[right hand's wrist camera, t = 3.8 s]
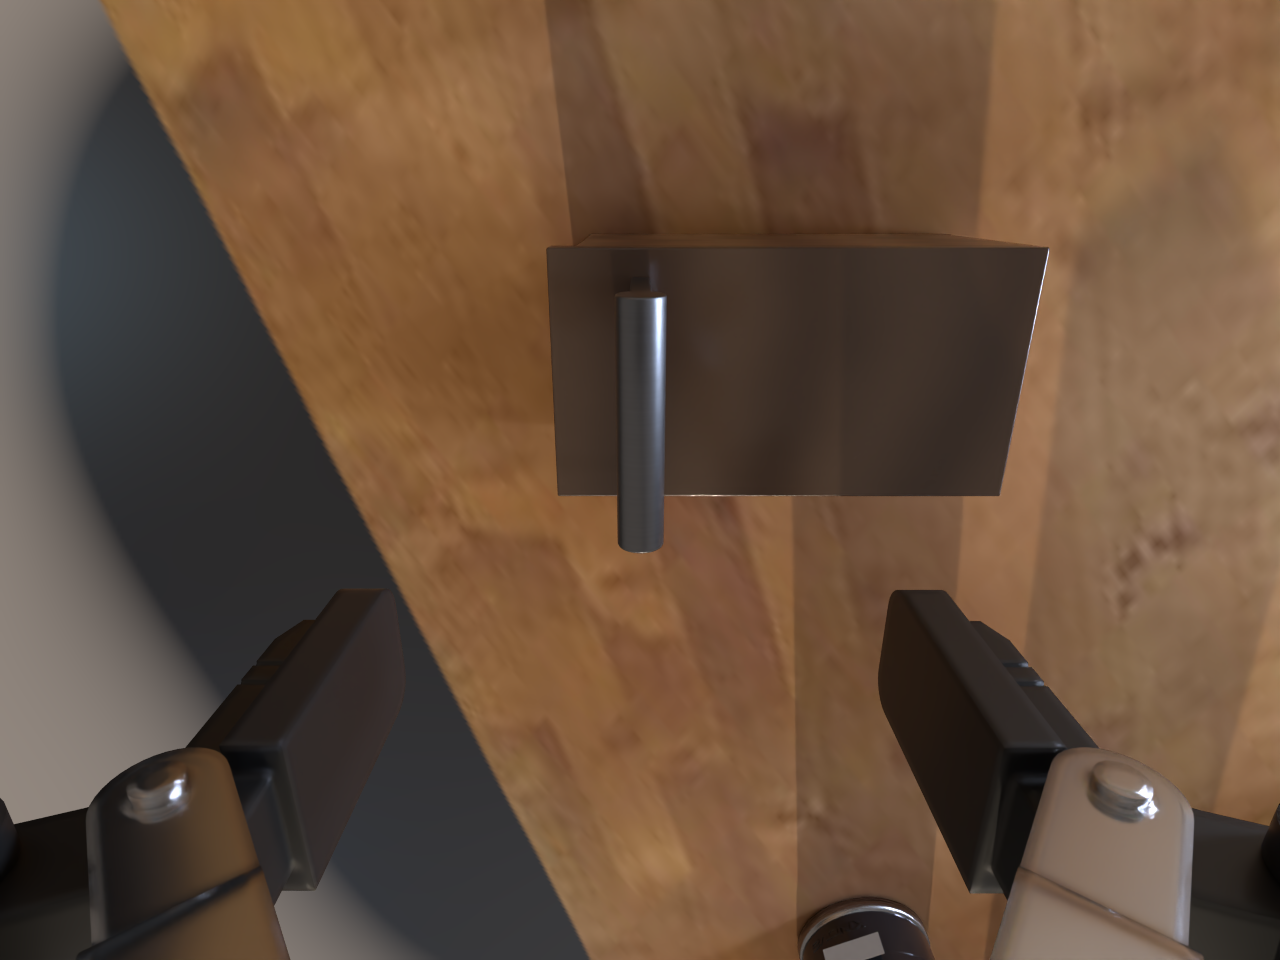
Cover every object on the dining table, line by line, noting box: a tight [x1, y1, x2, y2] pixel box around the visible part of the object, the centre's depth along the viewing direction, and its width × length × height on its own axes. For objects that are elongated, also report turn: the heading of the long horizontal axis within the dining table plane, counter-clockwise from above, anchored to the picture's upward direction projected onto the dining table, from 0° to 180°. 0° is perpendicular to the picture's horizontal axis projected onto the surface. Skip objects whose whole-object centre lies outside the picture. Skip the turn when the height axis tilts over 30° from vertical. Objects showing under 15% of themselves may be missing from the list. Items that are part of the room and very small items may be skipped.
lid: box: [546, 246, 1049, 553], centre depth 25 cm, size 18×10×8 cm, turn 90°
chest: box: [577, 234, 1033, 246], centre depth 33 cm, size 17×10×9 cm, turn 90°
